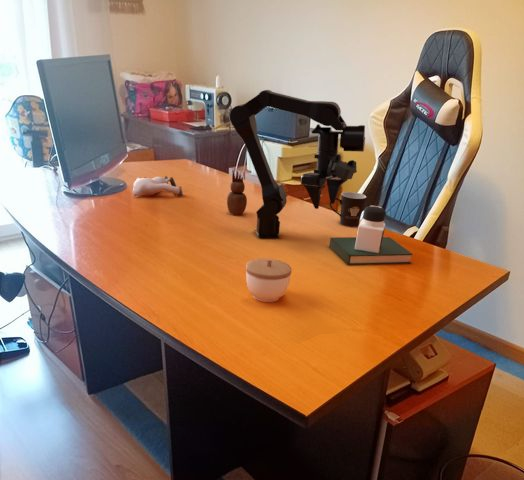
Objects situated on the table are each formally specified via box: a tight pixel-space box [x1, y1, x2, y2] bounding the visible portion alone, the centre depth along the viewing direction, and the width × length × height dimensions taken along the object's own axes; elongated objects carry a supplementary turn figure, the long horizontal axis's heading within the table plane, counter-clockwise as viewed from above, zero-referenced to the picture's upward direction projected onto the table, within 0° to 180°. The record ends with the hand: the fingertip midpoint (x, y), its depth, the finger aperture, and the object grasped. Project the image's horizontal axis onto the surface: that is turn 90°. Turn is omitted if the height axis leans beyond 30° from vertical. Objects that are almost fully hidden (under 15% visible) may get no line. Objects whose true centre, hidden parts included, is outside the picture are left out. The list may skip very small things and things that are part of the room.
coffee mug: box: [329, 191, 367, 228], centre depth 181 cm, size 12×9×10 cm
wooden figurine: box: [226, 169, 248, 216], centre depth 179 cm, size 7×6×15 cm
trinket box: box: [245, 258, 293, 303], centre depth 123 cm, size 11×11×9 cm
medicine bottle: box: [355, 205, 387, 253], centre depth 149 cm, size 7×7×12 cm
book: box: [328, 236, 413, 266], centre depth 156 cm, size 20×15×3 cm
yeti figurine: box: [132, 175, 183, 197], centre depth 197 cm, size 20×7×20 cm
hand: (324, 206), depth 156 cm, fingers open, 9 cm apart
